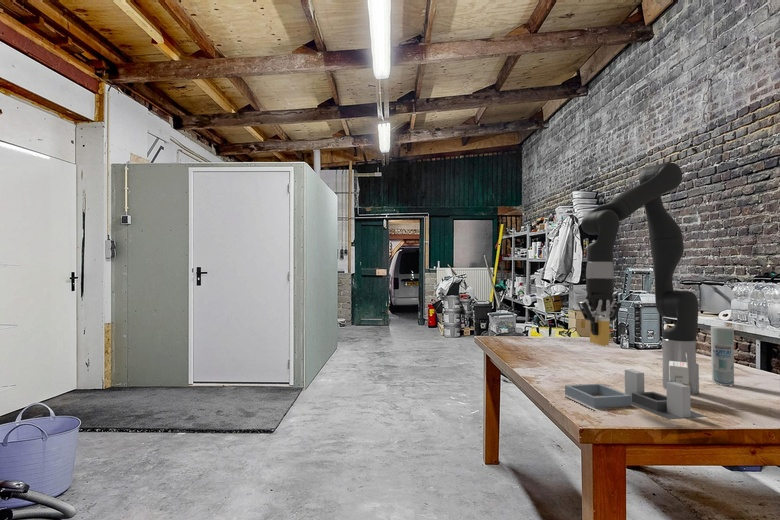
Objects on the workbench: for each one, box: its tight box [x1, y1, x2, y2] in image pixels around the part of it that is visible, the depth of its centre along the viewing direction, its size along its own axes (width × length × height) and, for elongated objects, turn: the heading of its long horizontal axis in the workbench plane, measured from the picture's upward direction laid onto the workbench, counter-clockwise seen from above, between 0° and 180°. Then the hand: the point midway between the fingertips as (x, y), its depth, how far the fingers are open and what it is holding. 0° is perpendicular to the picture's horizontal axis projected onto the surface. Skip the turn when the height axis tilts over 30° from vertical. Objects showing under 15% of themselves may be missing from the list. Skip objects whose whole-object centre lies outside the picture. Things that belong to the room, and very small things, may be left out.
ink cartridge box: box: [669, 353, 689, 386], centre depth 133 cm, size 9×5×15 cm, turn 148°
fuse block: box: [624, 368, 708, 420], centre depth 126 cm, size 12×22×9 cm, turn 11°
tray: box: [564, 383, 632, 412], centre depth 132 cm, size 12×14×4 cm
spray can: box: [710, 325, 735, 386], centre depth 155 cm, size 6×6×20 cm
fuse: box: [589, 315, 611, 346], centre depth 131 cm, size 3×5×8 cm, turn 12°
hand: (599, 334), depth 131 cm, fingers closed on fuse, 2 cm apart
